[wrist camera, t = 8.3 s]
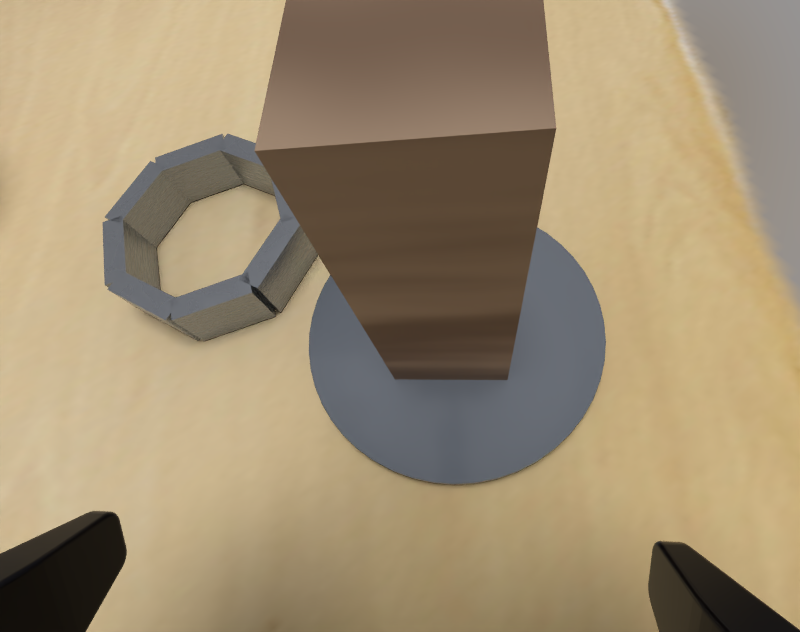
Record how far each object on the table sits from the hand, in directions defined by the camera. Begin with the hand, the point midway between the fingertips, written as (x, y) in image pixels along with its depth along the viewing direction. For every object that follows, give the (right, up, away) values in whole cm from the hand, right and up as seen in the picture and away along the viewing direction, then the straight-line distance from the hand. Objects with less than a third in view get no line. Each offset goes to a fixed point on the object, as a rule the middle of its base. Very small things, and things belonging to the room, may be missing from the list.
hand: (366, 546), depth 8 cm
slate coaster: (+3, +3, +12) cm, 13 cm away
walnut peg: (+3, +3, +12) cm, 12 cm away
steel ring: (-8, +7, +16) cm, 19 cm away
